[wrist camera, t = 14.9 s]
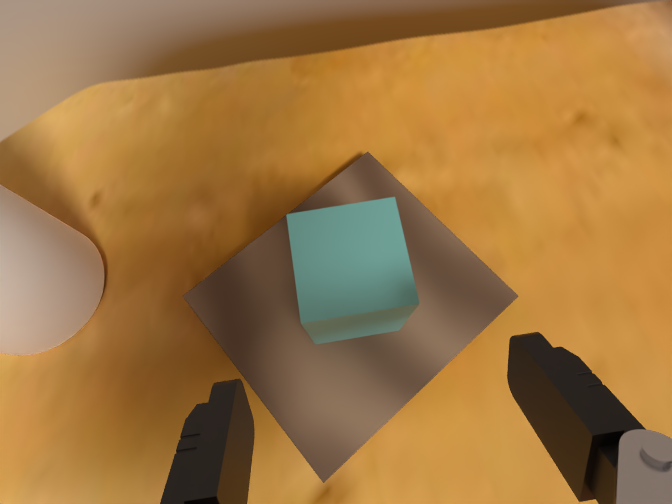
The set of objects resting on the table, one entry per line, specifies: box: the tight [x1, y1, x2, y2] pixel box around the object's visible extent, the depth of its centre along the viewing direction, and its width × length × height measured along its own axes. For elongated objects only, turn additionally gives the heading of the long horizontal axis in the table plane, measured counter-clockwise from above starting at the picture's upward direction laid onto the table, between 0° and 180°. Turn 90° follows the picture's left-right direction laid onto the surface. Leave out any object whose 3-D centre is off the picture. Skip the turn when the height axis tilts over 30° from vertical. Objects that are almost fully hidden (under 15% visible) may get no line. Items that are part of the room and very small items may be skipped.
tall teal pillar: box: [286, 197, 420, 345], centre depth 23 cm, size 5×5×8 cm
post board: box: [183, 152, 518, 483], centre depth 24 cm, size 16×14×7 cm
